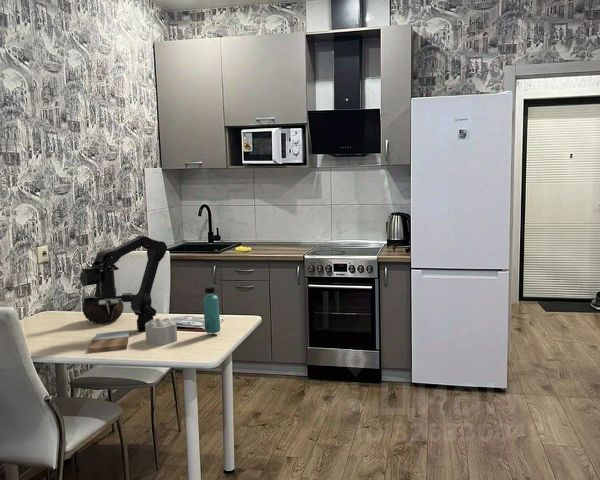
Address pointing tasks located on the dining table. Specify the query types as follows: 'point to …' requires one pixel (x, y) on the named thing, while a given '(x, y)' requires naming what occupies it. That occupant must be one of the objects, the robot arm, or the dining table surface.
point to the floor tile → (111, 335)
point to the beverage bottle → (211, 311)
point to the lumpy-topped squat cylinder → (161, 332)
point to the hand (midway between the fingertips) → (109, 319)
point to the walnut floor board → (108, 344)
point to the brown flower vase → (101, 310)
